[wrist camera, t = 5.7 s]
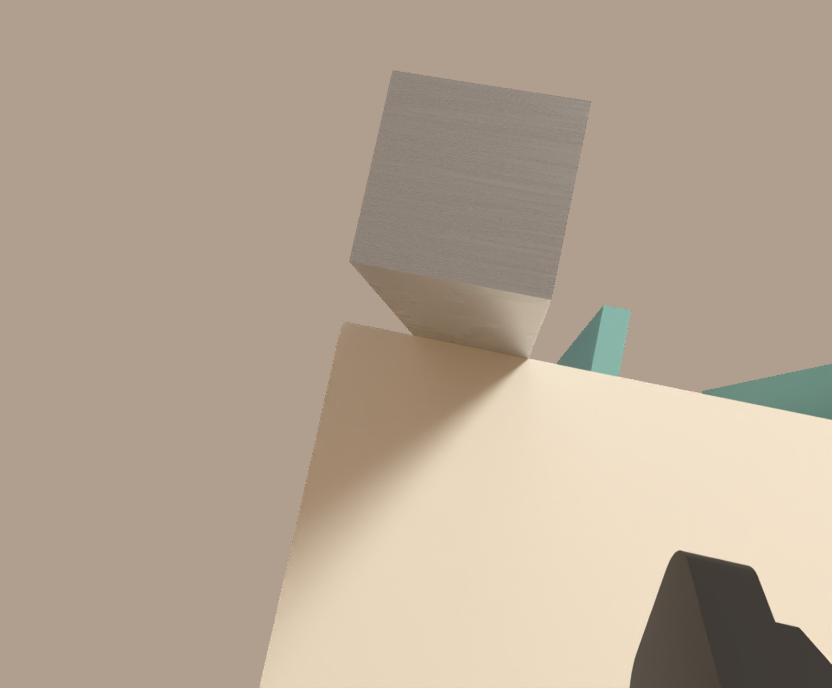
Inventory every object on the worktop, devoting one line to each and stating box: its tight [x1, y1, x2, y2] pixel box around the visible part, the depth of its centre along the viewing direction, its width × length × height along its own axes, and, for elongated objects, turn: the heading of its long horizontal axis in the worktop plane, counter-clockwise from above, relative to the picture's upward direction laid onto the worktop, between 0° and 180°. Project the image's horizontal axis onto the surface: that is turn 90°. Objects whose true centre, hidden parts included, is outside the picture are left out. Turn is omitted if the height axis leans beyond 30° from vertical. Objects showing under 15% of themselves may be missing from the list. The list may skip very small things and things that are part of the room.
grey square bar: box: [350, 71, 591, 358], centre depth 27 cm, size 28×4×4 cm, turn 174°
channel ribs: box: [557, 305, 832, 420], centre depth 31 cm, size 18×8×2 cm, turn 174°
